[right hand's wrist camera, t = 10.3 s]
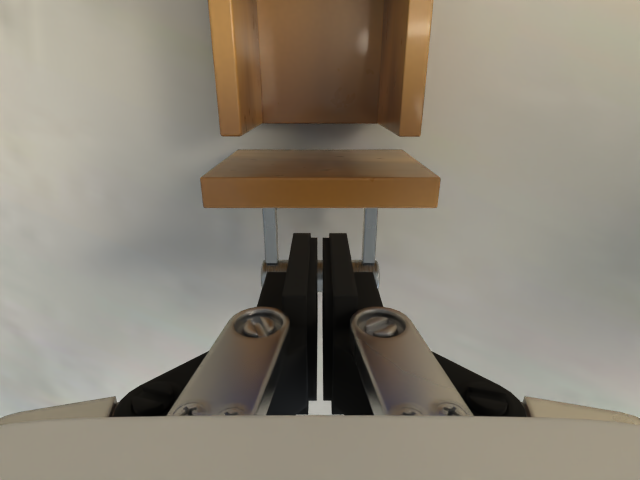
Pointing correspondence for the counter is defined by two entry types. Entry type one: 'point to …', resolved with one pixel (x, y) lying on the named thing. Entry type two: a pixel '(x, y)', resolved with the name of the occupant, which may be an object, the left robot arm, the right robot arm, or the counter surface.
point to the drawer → (320, 108)
